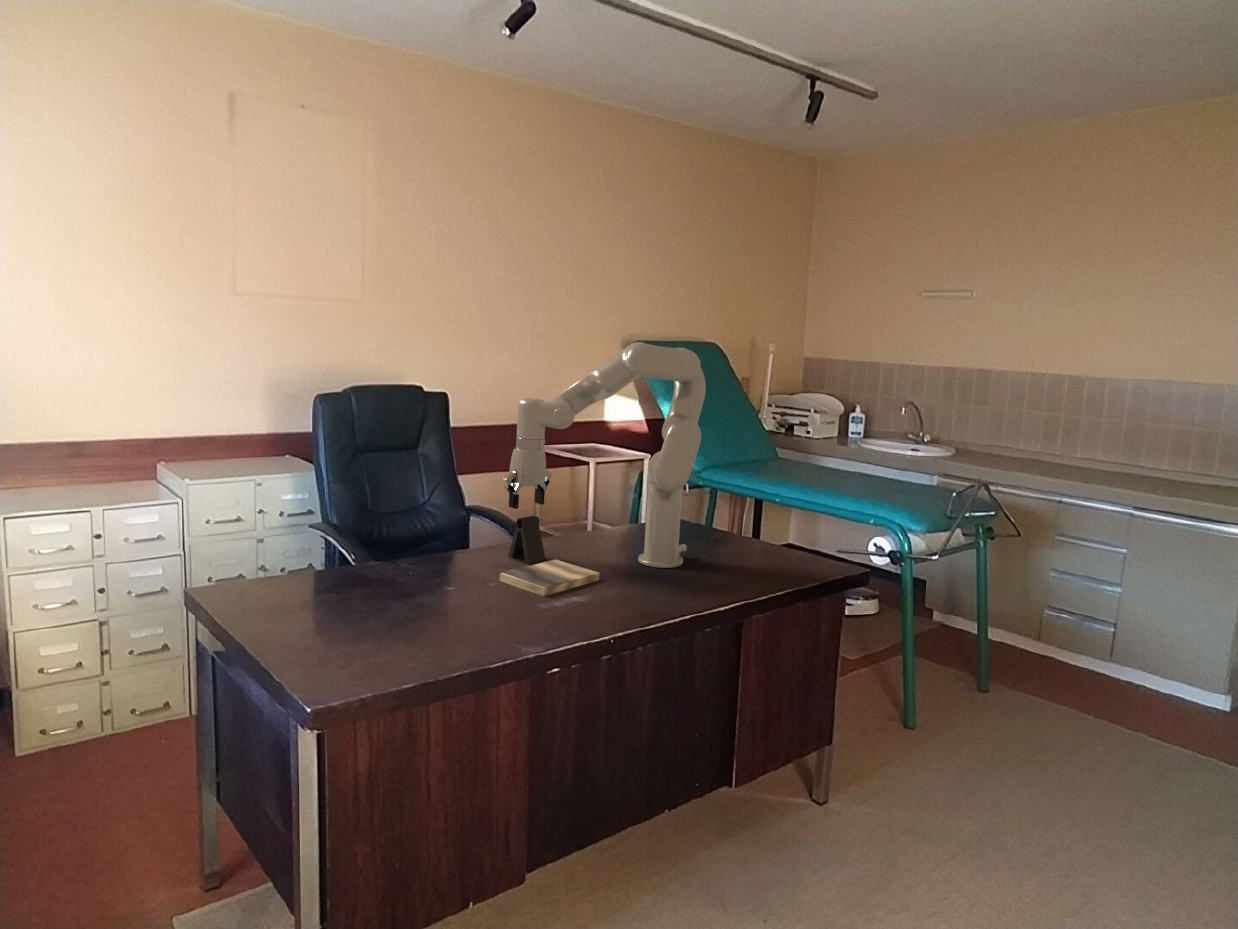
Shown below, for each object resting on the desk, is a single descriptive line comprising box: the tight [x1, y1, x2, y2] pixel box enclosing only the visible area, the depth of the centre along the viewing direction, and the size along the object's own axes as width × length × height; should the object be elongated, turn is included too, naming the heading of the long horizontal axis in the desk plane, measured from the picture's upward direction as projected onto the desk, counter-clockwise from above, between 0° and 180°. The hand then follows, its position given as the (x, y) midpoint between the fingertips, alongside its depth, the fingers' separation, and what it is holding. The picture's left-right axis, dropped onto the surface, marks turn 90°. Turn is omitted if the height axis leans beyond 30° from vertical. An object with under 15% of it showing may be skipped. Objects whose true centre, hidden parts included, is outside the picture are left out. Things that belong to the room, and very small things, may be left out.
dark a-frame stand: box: [507, 515, 547, 566], centre depth 247 cm, size 9×6×12 cm, turn 46°
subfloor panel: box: [499, 559, 600, 597], centre depth 229 cm, size 20×16×2 cm
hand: (526, 505), depth 245 cm, fingers open, 9 cm apart
